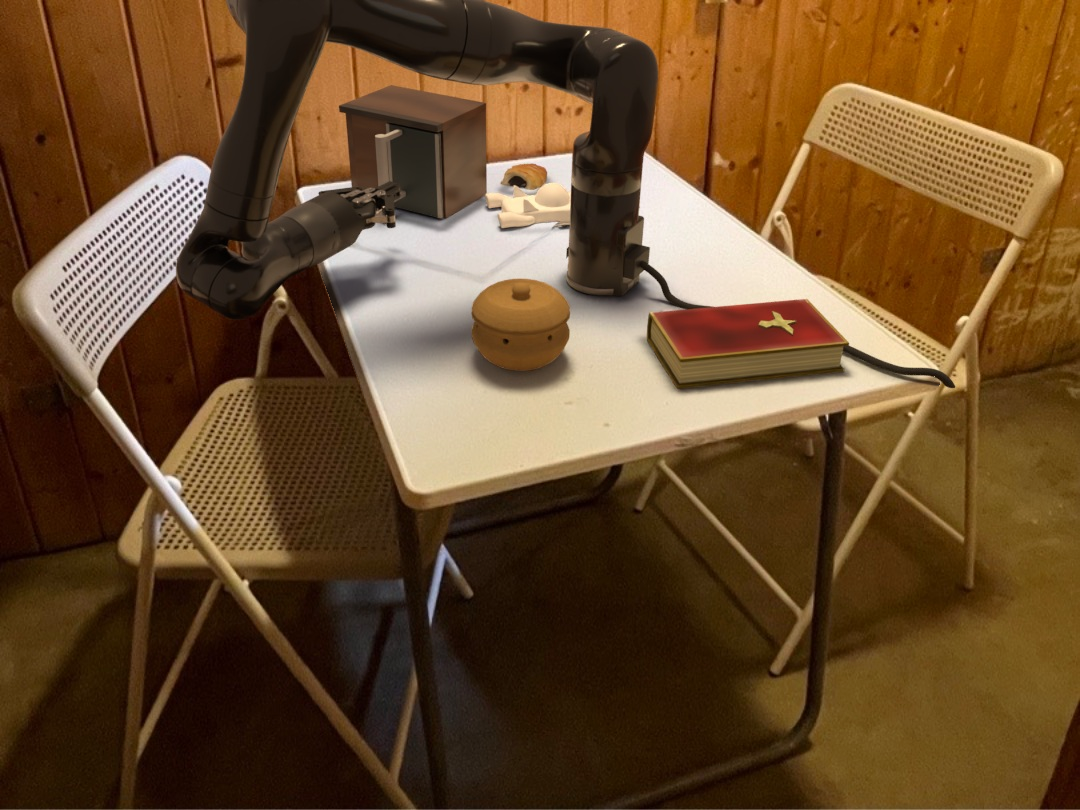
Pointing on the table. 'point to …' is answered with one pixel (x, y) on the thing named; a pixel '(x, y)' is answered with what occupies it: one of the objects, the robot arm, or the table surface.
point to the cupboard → (427, 112)
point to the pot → (520, 324)
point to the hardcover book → (744, 343)
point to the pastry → (525, 176)
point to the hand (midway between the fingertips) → (395, 188)
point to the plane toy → (532, 206)
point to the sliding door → (412, 167)
